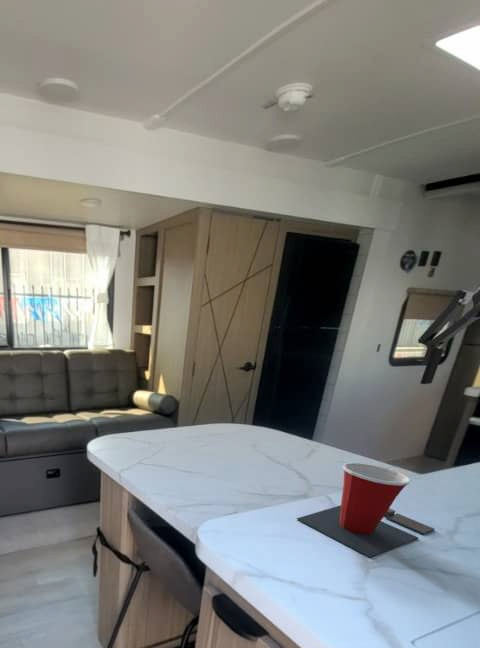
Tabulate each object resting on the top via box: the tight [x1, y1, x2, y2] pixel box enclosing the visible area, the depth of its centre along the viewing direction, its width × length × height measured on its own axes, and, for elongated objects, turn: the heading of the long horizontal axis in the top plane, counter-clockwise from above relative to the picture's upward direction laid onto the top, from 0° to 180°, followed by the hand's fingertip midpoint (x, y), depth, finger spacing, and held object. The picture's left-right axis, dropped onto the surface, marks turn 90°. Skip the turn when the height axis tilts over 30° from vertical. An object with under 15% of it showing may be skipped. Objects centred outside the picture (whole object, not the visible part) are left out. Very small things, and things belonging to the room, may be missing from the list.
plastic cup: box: [340, 462, 412, 535], centre depth 77 cm, size 11×11×12 cm
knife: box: [384, 508, 435, 536], centre depth 85 cm, size 16×4×1 cm, turn 27°
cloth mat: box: [296, 504, 419, 559], centre depth 79 cm, size 15×15×1 cm
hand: (467, 389), depth 74 cm, fingers open, 13 cm apart
